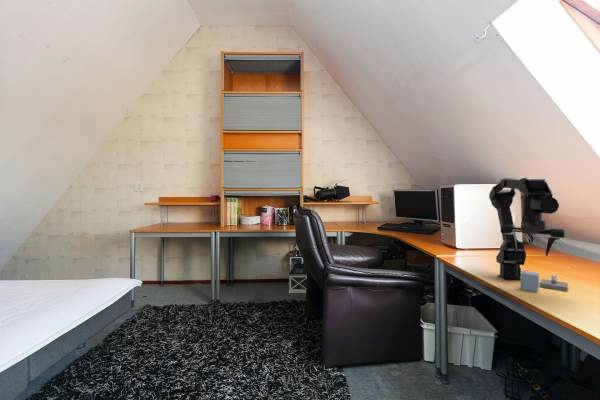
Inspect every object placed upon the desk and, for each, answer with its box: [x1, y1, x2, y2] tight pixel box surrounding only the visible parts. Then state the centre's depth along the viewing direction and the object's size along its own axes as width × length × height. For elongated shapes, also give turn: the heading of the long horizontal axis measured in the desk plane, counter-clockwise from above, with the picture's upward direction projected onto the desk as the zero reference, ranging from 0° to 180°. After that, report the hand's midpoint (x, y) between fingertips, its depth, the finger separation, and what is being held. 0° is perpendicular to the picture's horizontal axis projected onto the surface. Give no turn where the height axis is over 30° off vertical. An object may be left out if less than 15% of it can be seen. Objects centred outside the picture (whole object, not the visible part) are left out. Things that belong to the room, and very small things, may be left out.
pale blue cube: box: [520, 270, 540, 293], centre depth 118 cm, size 5×5×6 cm
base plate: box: [539, 274, 569, 292], centre depth 121 cm, size 8×8×4 cm
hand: (530, 254), depth 118 cm, fingers open, 9 cm apart
